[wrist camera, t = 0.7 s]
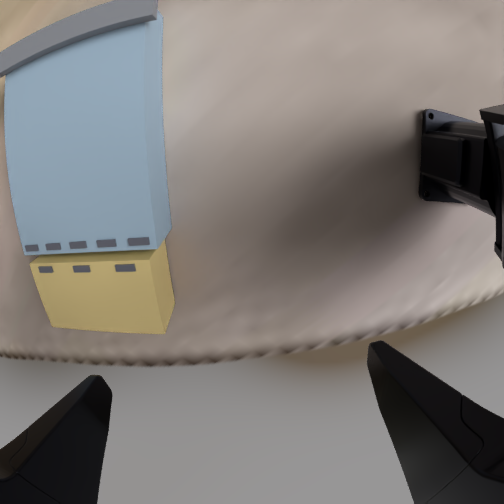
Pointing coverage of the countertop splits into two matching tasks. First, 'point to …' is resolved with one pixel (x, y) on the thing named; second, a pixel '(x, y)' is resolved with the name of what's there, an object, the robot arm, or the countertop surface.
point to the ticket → (88, 132)
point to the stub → (107, 290)
